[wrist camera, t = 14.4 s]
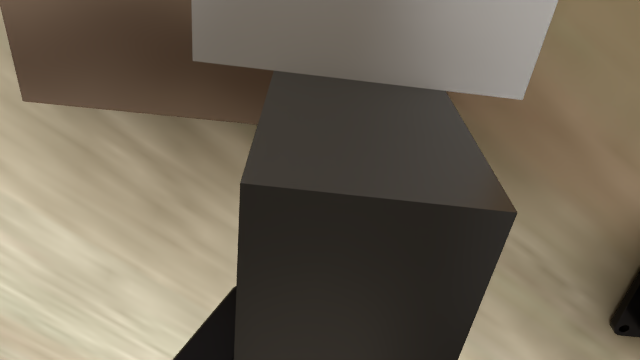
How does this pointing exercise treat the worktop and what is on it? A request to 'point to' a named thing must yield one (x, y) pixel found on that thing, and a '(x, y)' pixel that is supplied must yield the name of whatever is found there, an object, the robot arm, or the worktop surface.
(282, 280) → the dark grey pillar block
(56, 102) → the walnut board
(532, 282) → the worktop surface
